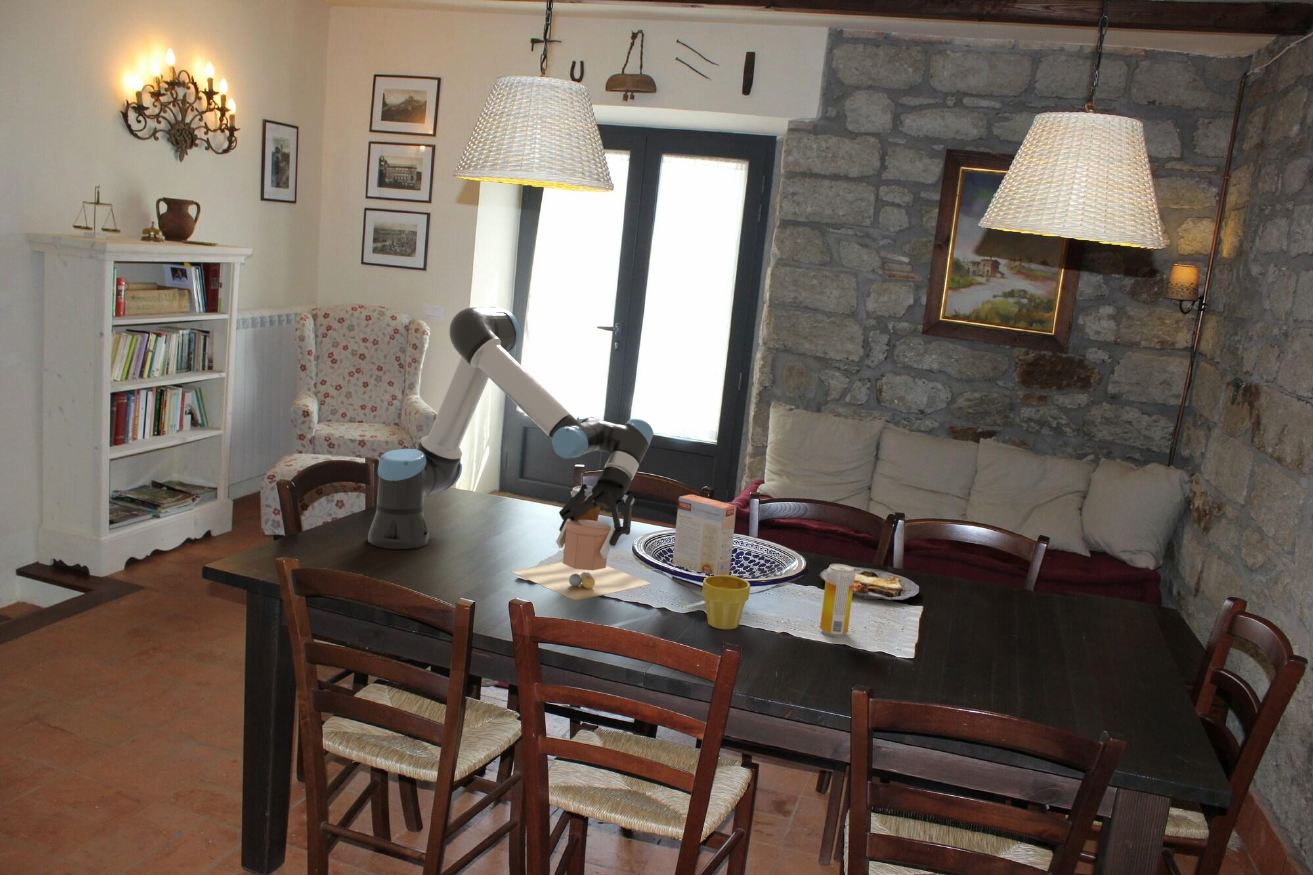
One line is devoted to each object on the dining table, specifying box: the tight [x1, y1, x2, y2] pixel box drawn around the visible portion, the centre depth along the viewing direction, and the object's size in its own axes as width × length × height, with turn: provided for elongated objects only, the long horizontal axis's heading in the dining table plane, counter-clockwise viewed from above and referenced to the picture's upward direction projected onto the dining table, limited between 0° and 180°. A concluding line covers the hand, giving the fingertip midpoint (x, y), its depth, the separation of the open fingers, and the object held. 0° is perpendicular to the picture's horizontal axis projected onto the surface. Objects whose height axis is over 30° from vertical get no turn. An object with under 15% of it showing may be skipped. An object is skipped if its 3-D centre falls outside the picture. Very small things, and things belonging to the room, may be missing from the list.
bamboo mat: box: [511, 561, 652, 602], centre depth 240 cm, size 24×24×1 cm
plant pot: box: [701, 575, 751, 630], centre depth 217 cm, size 10×10×10 cm
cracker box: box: [671, 494, 737, 576], centre depth 245 cm, size 14×6×21 cm, turn 50°
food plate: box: [818, 566, 920, 601], centre depth 255 cm, size 25×23×4 cm
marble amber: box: [582, 576, 595, 589], centre depth 232 cm, size 3×3×3 cm
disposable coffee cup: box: [570, 485, 601, 522], centre depth 284 cm, size 10×10×12 cm
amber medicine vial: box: [819, 563, 855, 638], centre depth 218 cm, size 6×6×15 cm
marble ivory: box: [580, 572, 592, 583], centre depth 235 cm, size 3×3×3 cm
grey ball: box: [569, 574, 582, 587], centre depth 233 cm, size 3×3×3 cm
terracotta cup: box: [562, 520, 612, 570], centre depth 232 cm, size 10×10×9 cm
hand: (580, 550), depth 229 cm, fingers closed on terracotta cup, 11 cm apart
